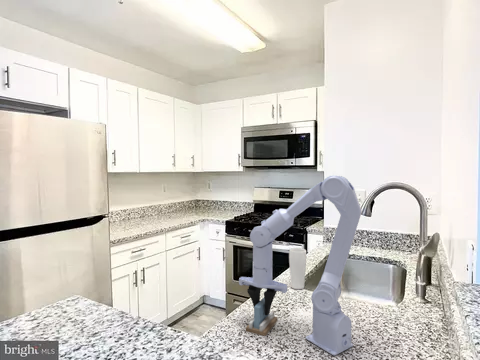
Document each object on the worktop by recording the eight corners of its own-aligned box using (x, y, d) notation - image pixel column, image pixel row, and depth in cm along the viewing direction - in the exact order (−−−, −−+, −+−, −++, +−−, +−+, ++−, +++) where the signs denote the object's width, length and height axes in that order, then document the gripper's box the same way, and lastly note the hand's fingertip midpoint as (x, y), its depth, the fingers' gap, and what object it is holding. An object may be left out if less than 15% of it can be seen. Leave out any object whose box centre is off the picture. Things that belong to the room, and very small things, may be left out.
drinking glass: (286, 288, 115) (286, 250, 115) (291, 283, 121) (292, 247, 121) (303, 291, 111) (303, 252, 111) (308, 286, 117) (308, 249, 117)
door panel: (259, 329, 81) (259, 307, 81) (253, 328, 82) (254, 306, 82) (269, 317, 88) (269, 297, 88) (264, 316, 89) (264, 296, 89)
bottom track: (259, 316, 91) (259, 308, 91) (277, 320, 88) (277, 312, 88) (245, 331, 82) (245, 321, 82) (265, 336, 79) (265, 326, 79)
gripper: (290, 266, 86) (290, 312, 86) (246, 259, 92) (245, 302, 92) (283, 273, 79) (282, 322, 79) (235, 265, 86) (235, 311, 86)
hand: (262, 312), depth 85 cm, fingers open, 3 cm apart
